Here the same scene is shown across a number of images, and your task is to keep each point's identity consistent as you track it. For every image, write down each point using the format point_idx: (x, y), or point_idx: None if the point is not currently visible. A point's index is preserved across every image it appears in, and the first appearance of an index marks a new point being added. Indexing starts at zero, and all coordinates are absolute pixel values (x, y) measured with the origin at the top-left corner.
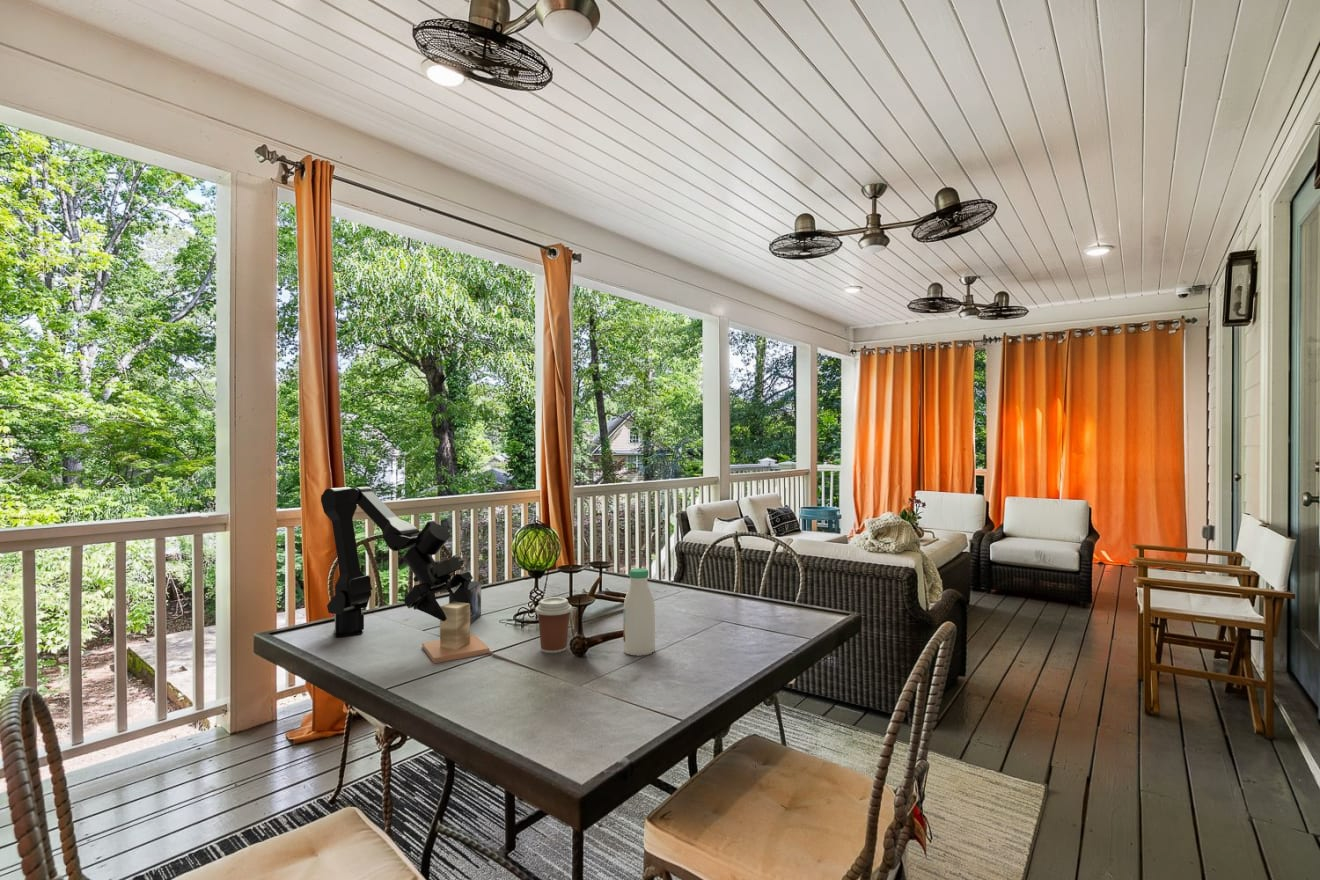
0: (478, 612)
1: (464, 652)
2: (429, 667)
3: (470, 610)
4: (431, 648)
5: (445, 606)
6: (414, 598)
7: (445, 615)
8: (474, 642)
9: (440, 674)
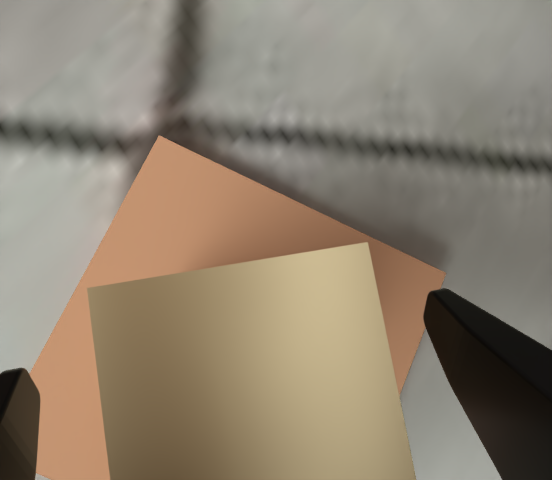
0: None
1: (290, 202)
2: (476, 245)
3: (32, 382)
4: None
5: (383, 460)
6: None
7: (447, 309)
8: None
9: (496, 125)
